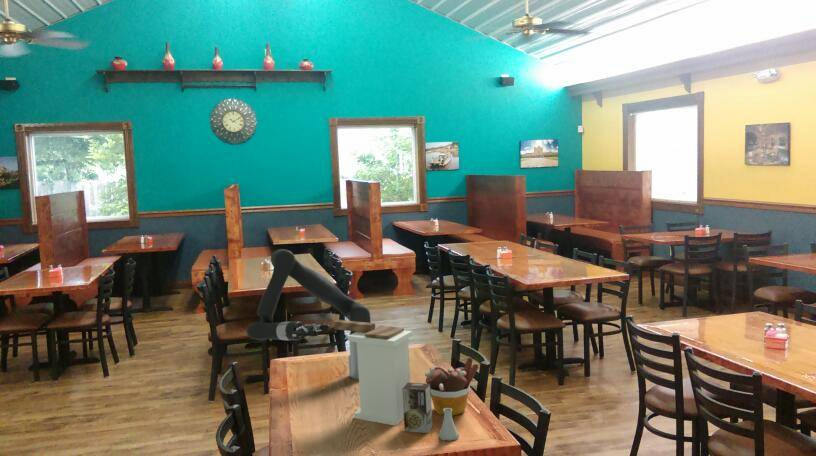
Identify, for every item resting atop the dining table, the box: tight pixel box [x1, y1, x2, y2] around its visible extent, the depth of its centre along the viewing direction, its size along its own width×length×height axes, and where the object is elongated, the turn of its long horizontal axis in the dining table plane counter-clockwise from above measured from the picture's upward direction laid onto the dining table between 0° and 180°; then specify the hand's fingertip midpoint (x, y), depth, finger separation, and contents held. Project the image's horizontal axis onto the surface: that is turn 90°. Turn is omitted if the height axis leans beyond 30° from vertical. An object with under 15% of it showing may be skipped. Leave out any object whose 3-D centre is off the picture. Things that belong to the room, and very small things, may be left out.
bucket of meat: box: [424, 356, 479, 417], centre depth 251 cm, size 20×16×20 cm
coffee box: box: [402, 382, 434, 434], centre depth 236 cm, size 9×6×16 cm
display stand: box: [347, 326, 413, 426], centre depth 249 cm, size 20×14×32 cm
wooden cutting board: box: [333, 319, 405, 339], centre depth 250 cm, size 27×12×3 cm, turn 61°
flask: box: [438, 408, 460, 442], centre depth 229 cm, size 7×7×10 cm
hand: (323, 330), depth 260 cm, fingers open, 8 cm apart
